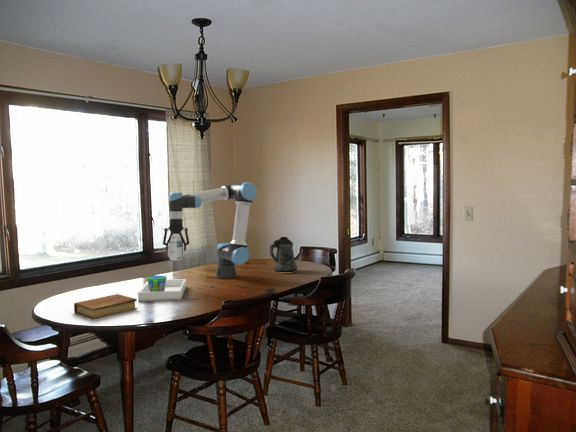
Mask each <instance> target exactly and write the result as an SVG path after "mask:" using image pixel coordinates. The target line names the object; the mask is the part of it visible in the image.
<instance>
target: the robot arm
mask: <svg viewBox="0 0 576 432" xmlns="http://www.w3.org/2000/svg"><path fill="white" fill-rule="evenodd" d="M257 195H258V189H257V188H256V185H254V183H252V182H250V181H249V182H247V181H244V182H233V183H229V184H227V185H222V186H221V187H219V188H213V189H208V190H203V191H198V192H193V193H189V194H187V193H186V194H183V192H170V193H169V196H168V197H169V199H168V201H169V202H168V204H169V227H165V228H164V229H163V230H164V231H163V232H164V234H163V240H162V245H164V246H165V251H166V252H167V258H170V249H169V242H170V239H171V236H174V235H180V237H181V239H182V242H183V258H184V257H185V252H186V251H187V246H188V245H189V244H190V240H189V234H188V231H189V229H188V227H184V226H183V210H184V209H199V208H200V207H201V206H202V204H205V203H210V202H215V201H221V200H225V201H227V200H228V201H229V200H234V202H235V204H236V207H235V209H236V210H235V216H234V223H233V233H232V239H231V241H230V242H228V243H227V242H226V243H225V242H224V243H218V244H217V248H216V249H217V251H216V252H217V253H216V254H217V267H216V270H215V275H214V276H215V277H214V278H216V279H219V280H220V279H223V280H224V279H226V280H228V279H229V280H230V279H236V278H238V276H239V275H238V270H237V268H236V265H239V266H241V265H244V264H246V263H247V261H248V260H249V258H250V251H249V249H247V248H248V244H247V242H246V239H247V238H246V237H247V231H248V222H249V215H250V206H251V205H253V200H254V199H255V198H256V197H257ZM169 231H170V234H169V236H168V238H167V235H168V232H169ZM182 231H183V232H184V235H185V238H184V236H183V234H182Z"/></svg>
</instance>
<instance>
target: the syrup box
mask: <svg viewBox="0 0 576 432" xmlns="http://www.w3.org/2000/svg"><path fill="white" fill-rule="evenodd" d="M168 245H169V249H170V256H169V260H170V261H182V260H184V257H183V245H184V244H183V242H182V239H181V237H180V235H179V234H174V235H172V236H171V239H170V242H169V244H168Z"/></svg>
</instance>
